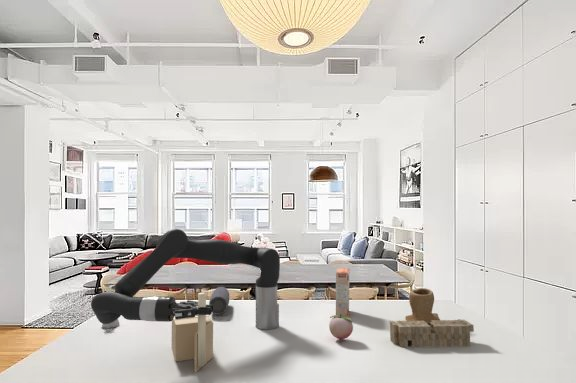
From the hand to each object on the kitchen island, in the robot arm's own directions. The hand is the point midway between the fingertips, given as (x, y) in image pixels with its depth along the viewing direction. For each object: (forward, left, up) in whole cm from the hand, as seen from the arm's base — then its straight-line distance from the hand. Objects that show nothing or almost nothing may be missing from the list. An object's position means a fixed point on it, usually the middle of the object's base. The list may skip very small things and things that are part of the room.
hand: (212, 309), depth 122 cm
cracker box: (-70, -42, -19) cm, 84 cm away
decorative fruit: (-51, -10, -19) cm, 56 cm away
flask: (+32, -62, -19) cm, 72 cm away
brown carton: (+4, -19, -19) cm, 27 cm away
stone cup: (-96, -16, -19) cm, 99 cm away
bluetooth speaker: (-17, -70, -19) cm, 74 cm away
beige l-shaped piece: (0, -6, -19) cm, 20 cm away
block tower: (-81, +5, -19) cm, 84 cm away
